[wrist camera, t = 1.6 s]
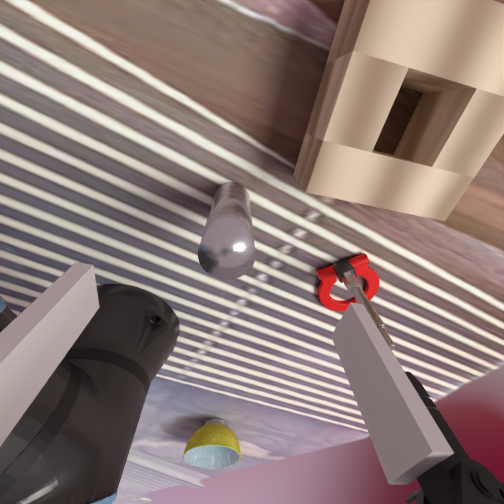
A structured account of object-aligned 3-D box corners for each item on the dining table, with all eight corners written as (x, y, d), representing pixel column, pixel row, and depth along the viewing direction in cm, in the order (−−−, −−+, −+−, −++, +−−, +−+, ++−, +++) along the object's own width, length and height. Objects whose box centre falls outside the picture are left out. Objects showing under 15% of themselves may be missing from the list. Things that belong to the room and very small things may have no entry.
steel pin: (211, 213, 28) (195, 274, 18) (216, 178, 26) (201, 225, 16) (245, 219, 28) (248, 282, 18) (252, 186, 26) (261, 236, 16)
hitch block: (292, 175, 26) (305, 192, 21) (345, -1, 19) (383, -41, 14) (407, 200, 28) (444, 221, 23) (491, 49, 21) (572, 30, 16)
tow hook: (378, 294, 36) (370, 247, 31) (439, 380, 25) (440, 328, 21) (324, 312, 38) (308, 269, 33) (359, 400, 27) (343, 356, 22)
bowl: (192, 436, 56) (187, 471, 51) (185, 411, 50) (179, 447, 45) (241, 434, 56) (241, 468, 51) (240, 408, 50) (240, 444, 45)
